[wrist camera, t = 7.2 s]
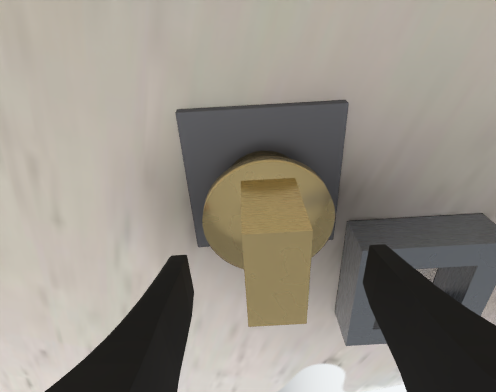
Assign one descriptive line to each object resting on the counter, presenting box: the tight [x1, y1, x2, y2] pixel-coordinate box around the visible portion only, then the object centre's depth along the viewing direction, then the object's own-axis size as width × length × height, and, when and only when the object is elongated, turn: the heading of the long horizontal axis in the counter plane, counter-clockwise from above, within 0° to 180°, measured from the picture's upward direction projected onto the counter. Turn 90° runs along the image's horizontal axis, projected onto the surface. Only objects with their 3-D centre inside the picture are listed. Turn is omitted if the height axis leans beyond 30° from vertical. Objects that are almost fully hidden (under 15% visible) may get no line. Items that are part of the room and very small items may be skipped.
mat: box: [176, 100, 348, 247], centre depth 19 cm, size 9×9×1 cm
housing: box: [335, 213, 496, 346], centre depth 22 cm, size 9×9×3 cm
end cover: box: [202, 151, 335, 327], centre depth 16 cm, size 7×7×8 cm
